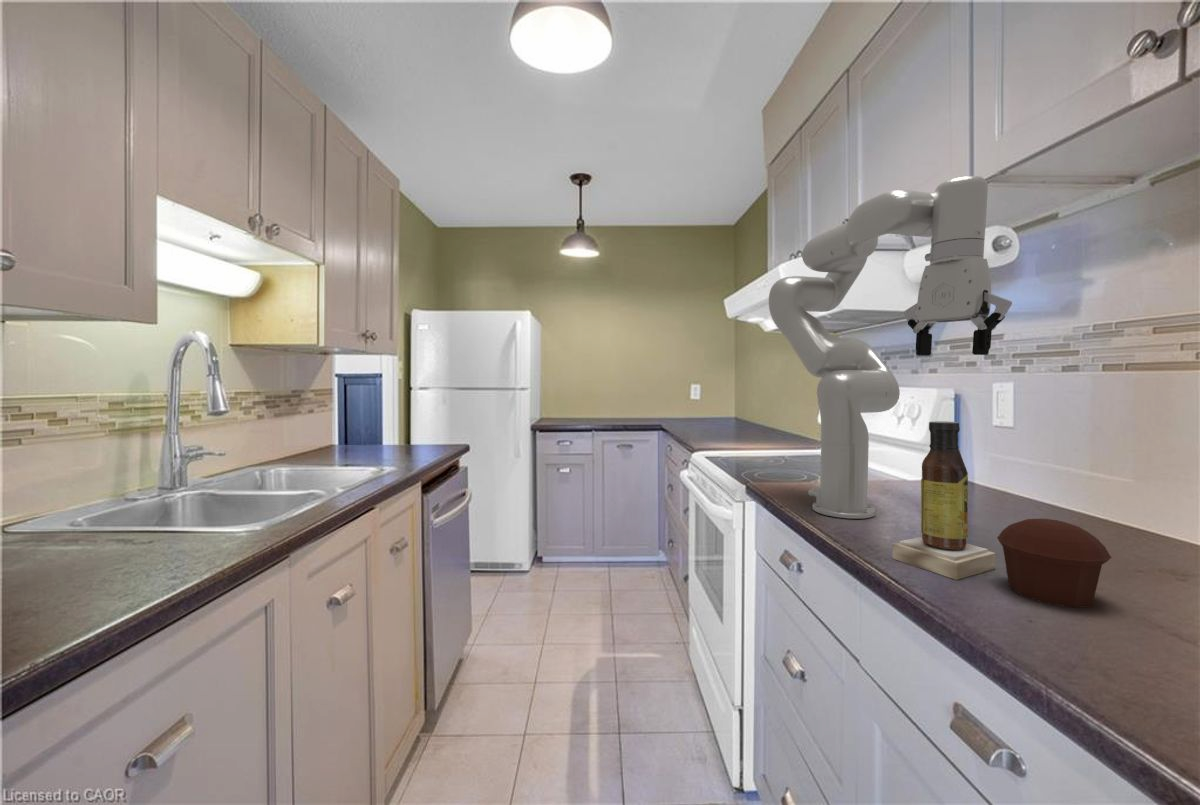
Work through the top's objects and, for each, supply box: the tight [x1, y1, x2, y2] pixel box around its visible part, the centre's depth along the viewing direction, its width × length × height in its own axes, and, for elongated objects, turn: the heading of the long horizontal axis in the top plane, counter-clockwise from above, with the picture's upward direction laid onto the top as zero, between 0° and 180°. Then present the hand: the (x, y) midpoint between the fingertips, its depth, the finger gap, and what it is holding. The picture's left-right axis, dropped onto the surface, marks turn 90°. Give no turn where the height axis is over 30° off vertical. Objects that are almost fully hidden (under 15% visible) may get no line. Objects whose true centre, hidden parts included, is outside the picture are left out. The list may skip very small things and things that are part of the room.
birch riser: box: [892, 536, 997, 581], centre depth 82 cm, size 10×10×3 cm
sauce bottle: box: [920, 420, 969, 550], centre depth 81 cm, size 7×6×20 cm
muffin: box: [996, 518, 1112, 609], centre depth 70 cm, size 12×11×10 cm
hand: (950, 355), depth 88 cm, fingers open, 9 cm apart
